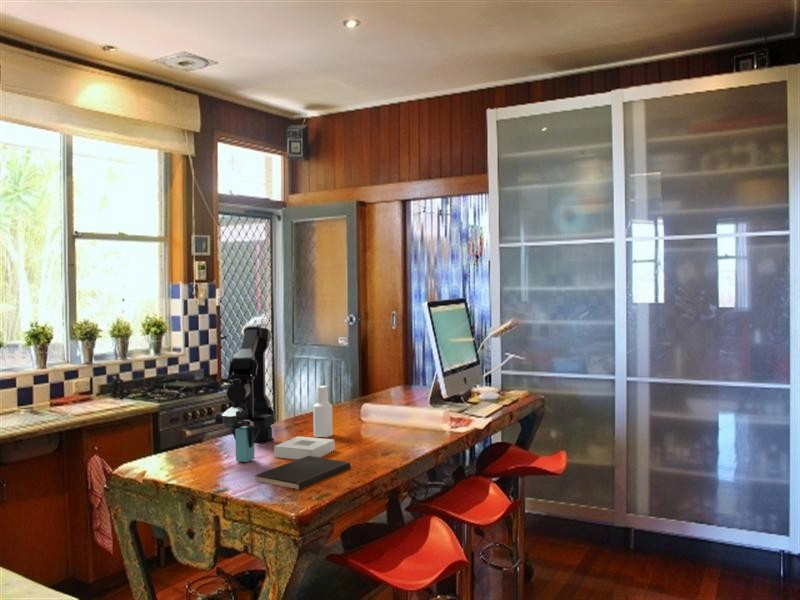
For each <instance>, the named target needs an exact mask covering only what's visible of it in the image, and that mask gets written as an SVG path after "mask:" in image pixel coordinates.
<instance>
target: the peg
mask: <svg viewBox="0 0 800 600" xmlns="http://www.w3.org/2000/svg"><path fill="white" fill-rule="evenodd" d="M246 427H248V425H247V426H245V425H243V426H242V427H239V428H236V429H235V438H236V441H235V462H244V463H248V462H251V461H252V460H255V443H254V444H253V447H251V448H250V447H249V432H248V430H247V428H246ZM235 438H234V439H235Z"/></svg>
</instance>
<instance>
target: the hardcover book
mask: <svg viewBox="0 0 800 600" xmlns="http://www.w3.org/2000/svg"><path fill="white" fill-rule="evenodd" d="M347 469H348V470H349V469H351V463H350V462H348V461H345V460H338V459H337V460H336V459H330V458H324V457H320V458H319V457H313V456H307V457H304V458H301V459H298V460H297V459H295V460H293V461H291V462H288V463H284V464H282V465H279V466H276V467H273V468H271V469H268V470H266V471H265V470H264V471H262V472H260V473H257V474H255V475H254V477H256V482H258V481H261V482H260V483H263V482H266V483H265V484H268V483H271V484H270V485H273V484H274V486H278V485H279V487H283V486H284V487H283V488H288V487H289V488H290V489H293V488H295V489H294V490H298V489H299V490H298V491H300V489H301V490H303V489H305V488H307V486H308V487H309V485H310V486H312V485H314V483H315V484H317V483H319V482H322V481H324V480H326V479H329V478H331V477H334V476H336V475H338V474H341V473H343V472H345V471H348V470H347ZM333 475H334V476H333ZM328 477H329V478H328ZM323 479H324V480H323ZM321 480H322V481H321ZM311 484H312V485H311ZM304 487H305V488H304ZM302 488H303V489H302Z"/></svg>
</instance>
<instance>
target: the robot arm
mask: <svg viewBox="0 0 800 600" xmlns="http://www.w3.org/2000/svg"><path fill="white" fill-rule="evenodd" d="M271 339H272V333H271V331H270V330H269V329H268V328H265V327H261V326H260V325H248V326H245V327H244V329H243V339H242V342H241V346H240V350H239V351H237V352H234V354H233V357H232V359H231V360H230V361H229V368H228V373H227V374H228V375H227V380H228V381H232V384H230V385H229V386H228V387H227V390H226V397H227V398H228V400H229V401H231V403H230V404H231V405H230V406H231V407H230V408H227V409H226V410H225V411H222V412H219V413H216V414H215V417H214V424H217V425H218V424H219V425H224V427H225V428H228V429H229V430H230V431H231V433H232V436H233V438H234V440H235V442H236V438H235V429H236V428H239V427H242V426H244V423H247V426H248V425H249V426H248V427H246V428H247V430H248V432H249V447H250V448H251V447H253V444H254V445H255V443H261V444H265V443H267V442H269V441H272V440H274V439H275V438H274V437H273V427H272V426H273V425H275V422H276V416H275V412H274V409H273V406H272V405H271V400H270V399H269V396H268V395H267V394H266V393H267V392H266V352H267V350H268V348H269V346H270V342H271Z"/></svg>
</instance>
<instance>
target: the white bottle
mask: <svg viewBox="0 0 800 600" xmlns="http://www.w3.org/2000/svg"><path fill="white" fill-rule="evenodd" d="M312 409H313V410H312V411H313V412H312V413H313V414H312V416H313V437H314V438H319V437H325V438H329V436H330V437H332V436H333V433H334V431H333V404H332V403H330V402H329V392H328V385H318V386H317V391H316V403H315V404H313V406H312Z"/></svg>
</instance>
